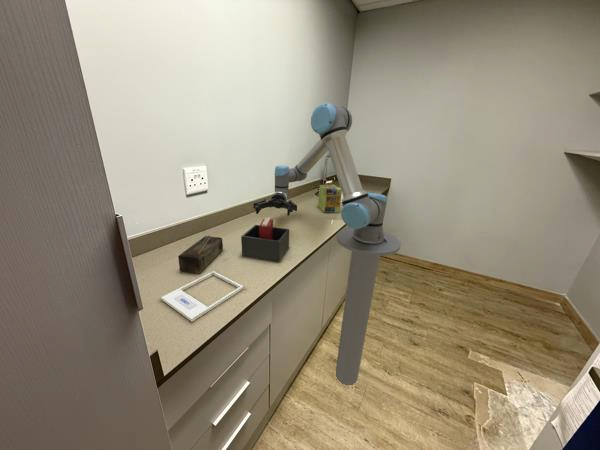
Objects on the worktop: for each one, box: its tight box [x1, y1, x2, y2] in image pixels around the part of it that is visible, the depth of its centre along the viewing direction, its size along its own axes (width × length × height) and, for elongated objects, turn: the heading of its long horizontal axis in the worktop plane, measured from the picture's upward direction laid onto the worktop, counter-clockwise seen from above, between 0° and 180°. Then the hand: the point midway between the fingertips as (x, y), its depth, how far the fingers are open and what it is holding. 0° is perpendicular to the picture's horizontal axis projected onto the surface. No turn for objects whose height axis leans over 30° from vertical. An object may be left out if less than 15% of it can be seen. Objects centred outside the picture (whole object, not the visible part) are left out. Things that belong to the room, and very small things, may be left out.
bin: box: [240, 224, 290, 263], centre depth 100 cm, size 16×14×9 cm
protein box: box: [317, 183, 343, 214], centre depth 160 cm, size 10×15×16 cm
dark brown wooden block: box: [177, 235, 224, 274], centre depth 91 cm, size 8×19×7 cm, turn 172°
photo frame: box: [160, 270, 244, 323], centre depth 73 cm, size 15×1×18 cm
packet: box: [258, 217, 274, 240], centre depth 99 cm, size 4×8×13 cm, turn 177°
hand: (272, 211), depth 104 cm, fingers open, 13 cm apart
